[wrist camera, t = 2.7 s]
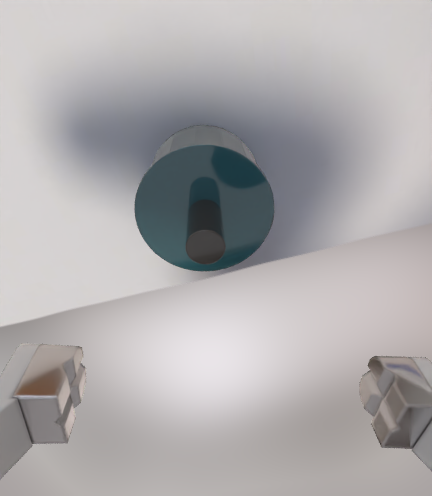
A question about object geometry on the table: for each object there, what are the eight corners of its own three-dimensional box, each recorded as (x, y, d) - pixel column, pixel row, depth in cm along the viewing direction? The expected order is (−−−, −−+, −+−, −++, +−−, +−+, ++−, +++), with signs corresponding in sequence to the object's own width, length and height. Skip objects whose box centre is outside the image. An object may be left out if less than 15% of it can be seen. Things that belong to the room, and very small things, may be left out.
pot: (150, 120, 28) (137, 142, 22) (264, 129, 28) (279, 152, 23) (151, 223, 32) (141, 261, 27) (249, 228, 33) (259, 267, 28)
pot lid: (134, 134, 23) (116, 161, 18) (282, 145, 23) (303, 174, 18) (139, 260, 28) (125, 307, 23) (261, 266, 28) (273, 313, 24)
